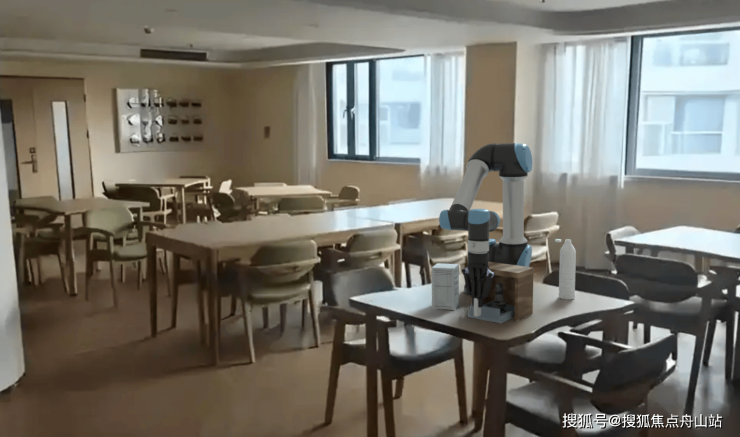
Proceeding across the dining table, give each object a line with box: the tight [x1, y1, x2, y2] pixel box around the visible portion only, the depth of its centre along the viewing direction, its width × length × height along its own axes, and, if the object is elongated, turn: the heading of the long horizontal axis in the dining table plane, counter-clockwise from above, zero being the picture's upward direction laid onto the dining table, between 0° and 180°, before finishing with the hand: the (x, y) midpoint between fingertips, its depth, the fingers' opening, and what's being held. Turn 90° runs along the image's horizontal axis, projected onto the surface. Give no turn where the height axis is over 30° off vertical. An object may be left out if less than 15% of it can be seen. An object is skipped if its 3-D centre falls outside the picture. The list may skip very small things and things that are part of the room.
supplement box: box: [431, 262, 460, 311], centre depth 263 cm, size 10×9×17 cm
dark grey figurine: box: [492, 281, 507, 313], centre depth 252 cm, size 6×6×12 cm
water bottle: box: [554, 238, 577, 301], centre depth 274 cm, size 9×6×25 cm
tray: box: [467, 301, 515, 324], centre depth 250 cm, size 14×17×5 cm
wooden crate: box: [470, 262, 535, 321], centre depth 253 cm, size 20×12×18 cm, turn 49°
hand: (477, 315), depth 240 cm, fingers closed
